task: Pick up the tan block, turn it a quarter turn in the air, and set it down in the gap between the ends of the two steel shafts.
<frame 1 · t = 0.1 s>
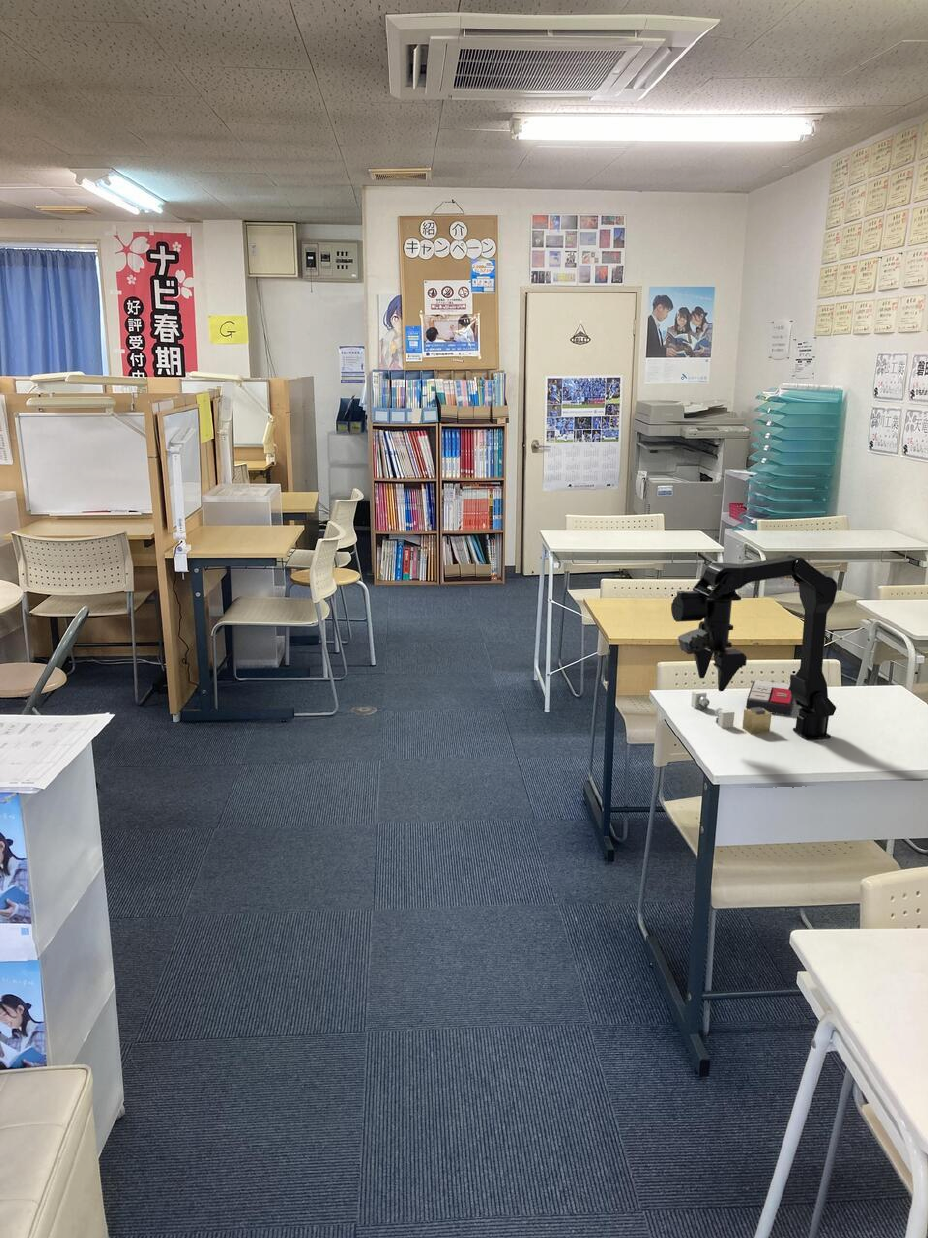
hand: (711, 684, 213), 15 cm above the table, tool pointing down, fingers open, 9 cm apart
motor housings: (711, 716, 234), on the table
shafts: (711, 716, 234), on the table
tan block: (755, 730, 225), on the table
red and grey box: (770, 705, 244), on the table
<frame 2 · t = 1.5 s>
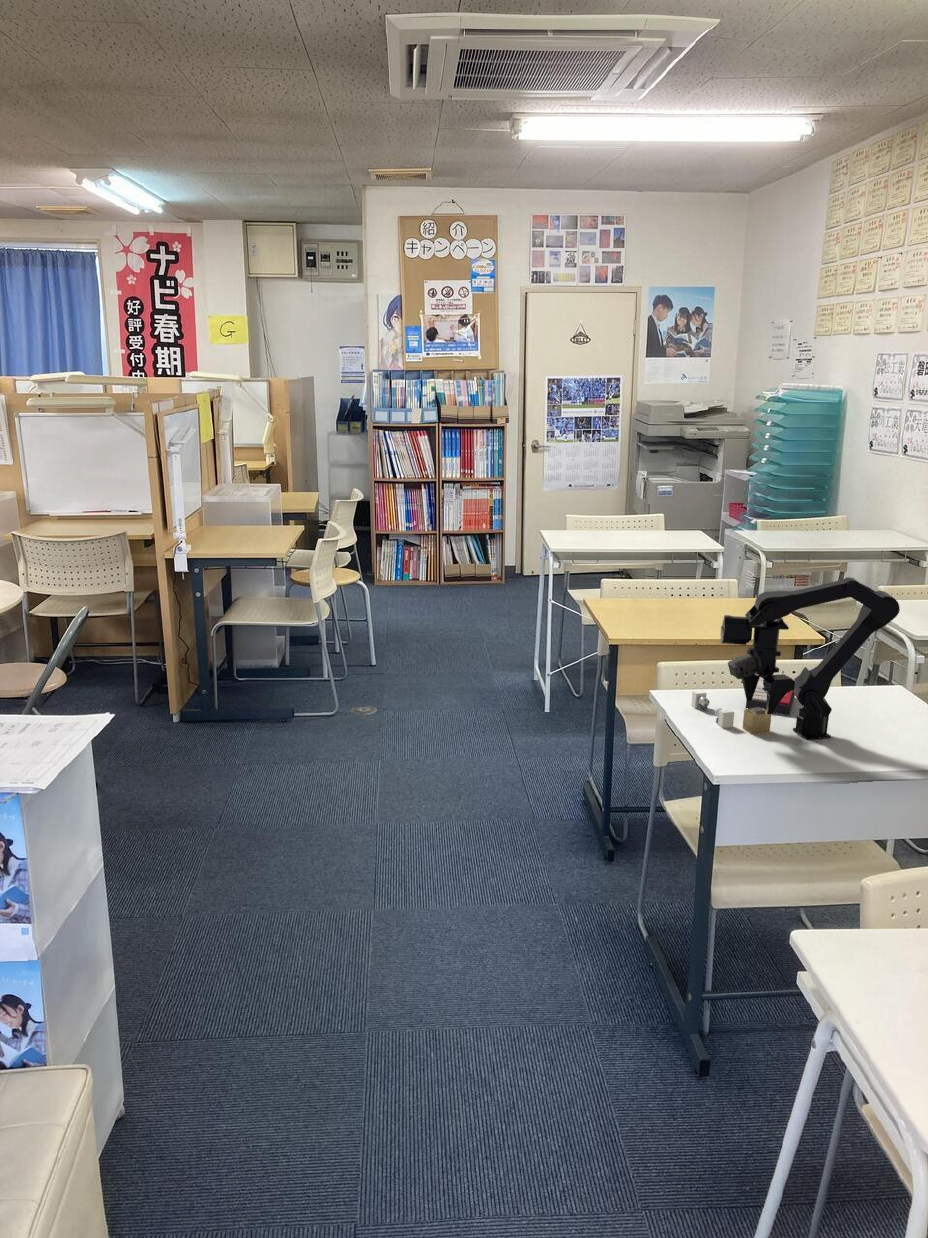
hand: (758, 707, 223), 6 cm above the table, tool pointing down, fingers open, 9 cm apart
nothing on the table moved.
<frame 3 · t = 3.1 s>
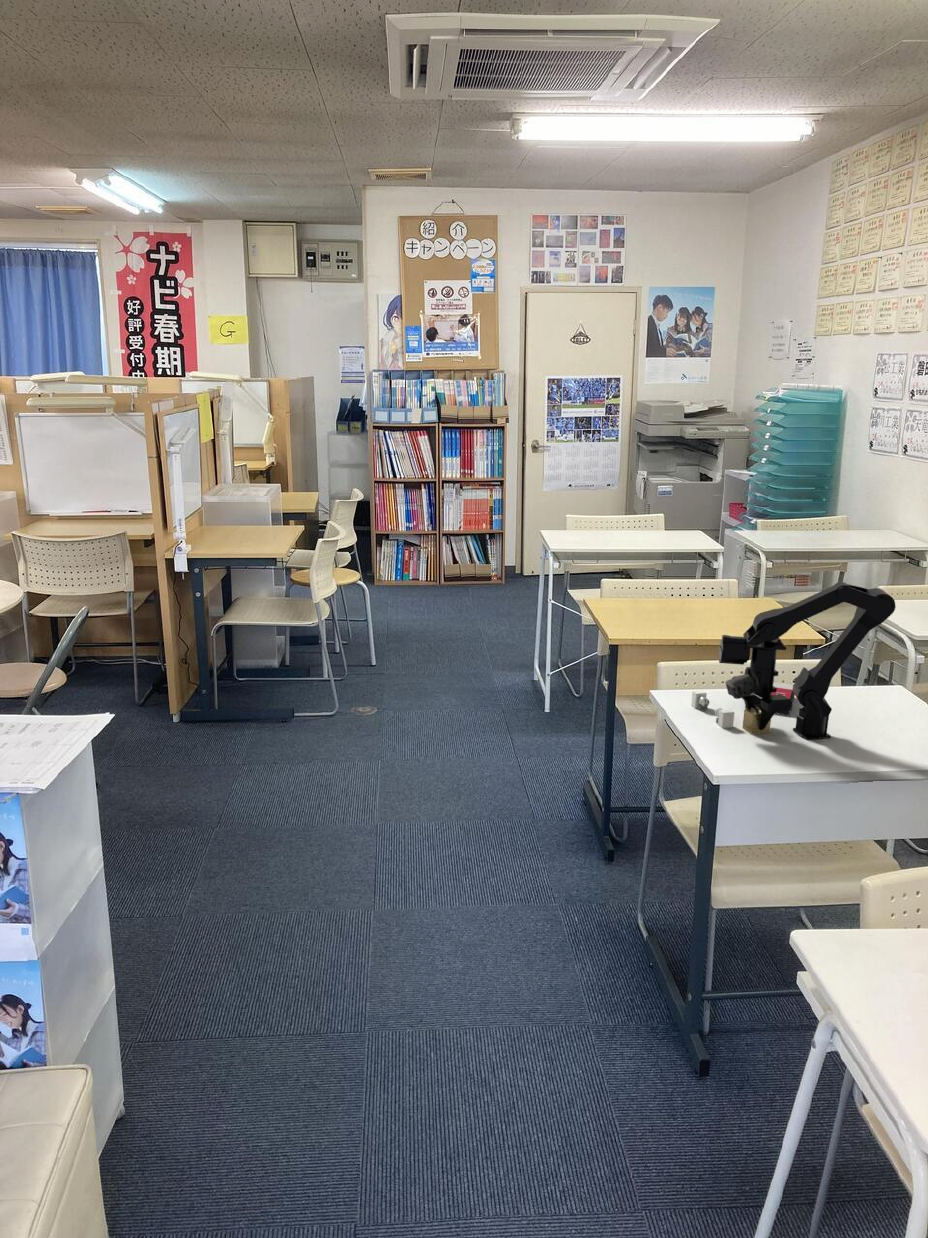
hand: (756, 726, 225), 1 cm above the table, tool pointing down, fingers closed on tan block, 4 cm apart
tan block: (755, 730, 225), on the table, touching gripper
everything else where it was.
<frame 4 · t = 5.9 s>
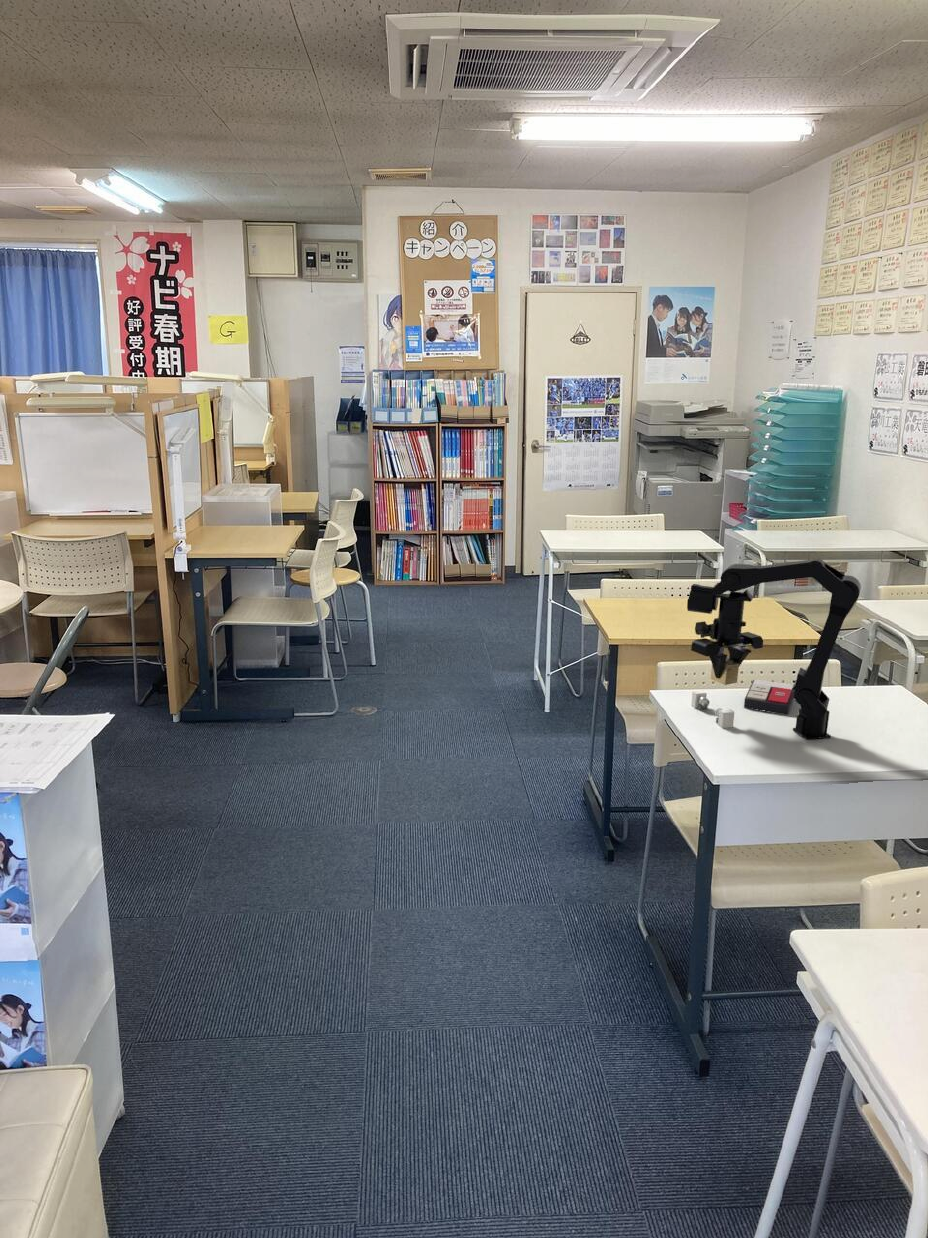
hand: (724, 676, 229), 11 cm above the table, tool pointing down, fingers closed on tan block, 4 cm apart
tan block: (723, 680, 229), point 10 cm above the table, touching gripper
everything else where it was.
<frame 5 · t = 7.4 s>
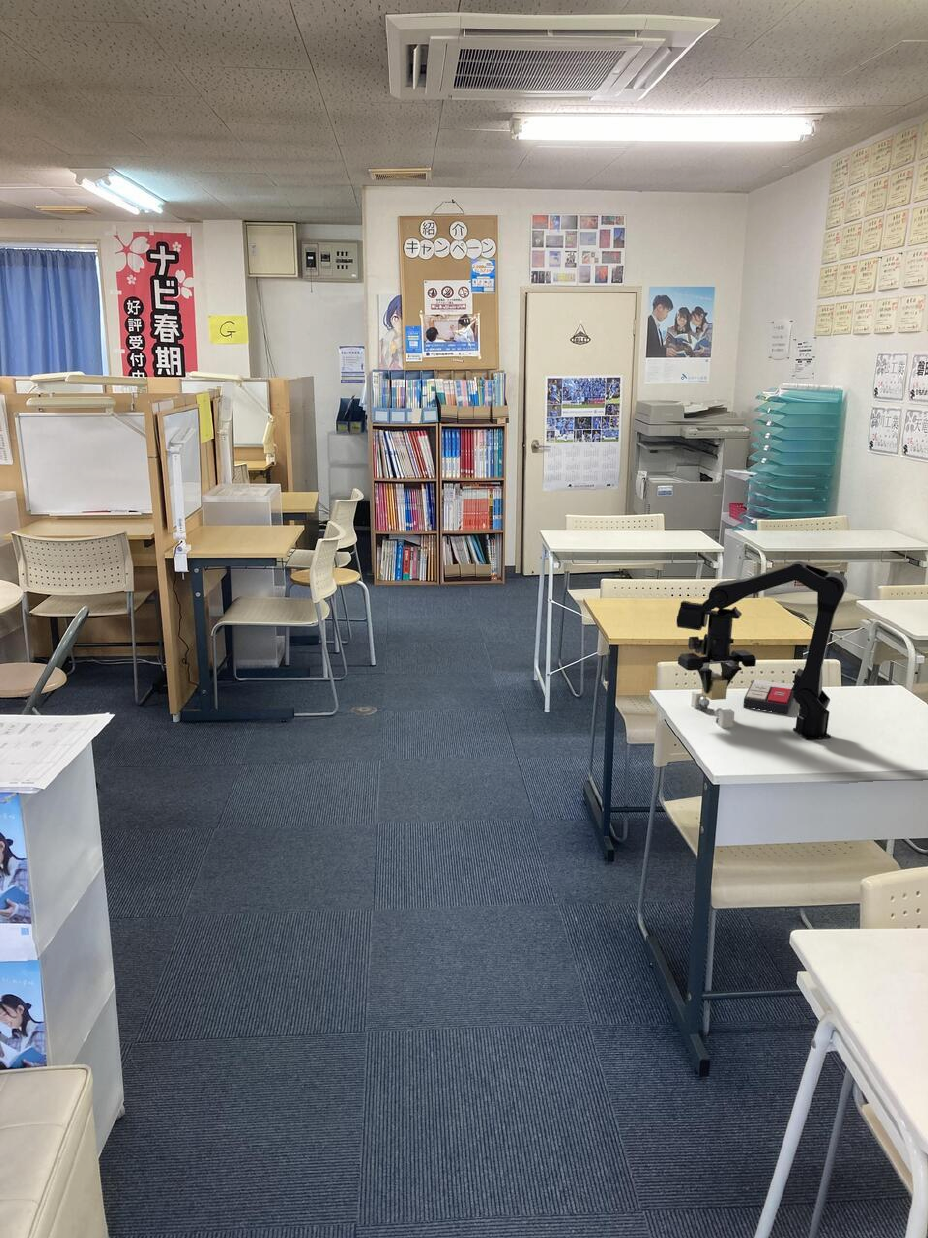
hand: (714, 692, 232), 6 cm above the table, tool pointing down, fingers closed on tan block, 4 cm apart
tan block: (713, 696, 232), point 5 cm above the table, touching gripper
everything else where it was.
when the fingers open (2 cm above the table, at t = 8.8 s): tan block drops 2 cm, on the table.
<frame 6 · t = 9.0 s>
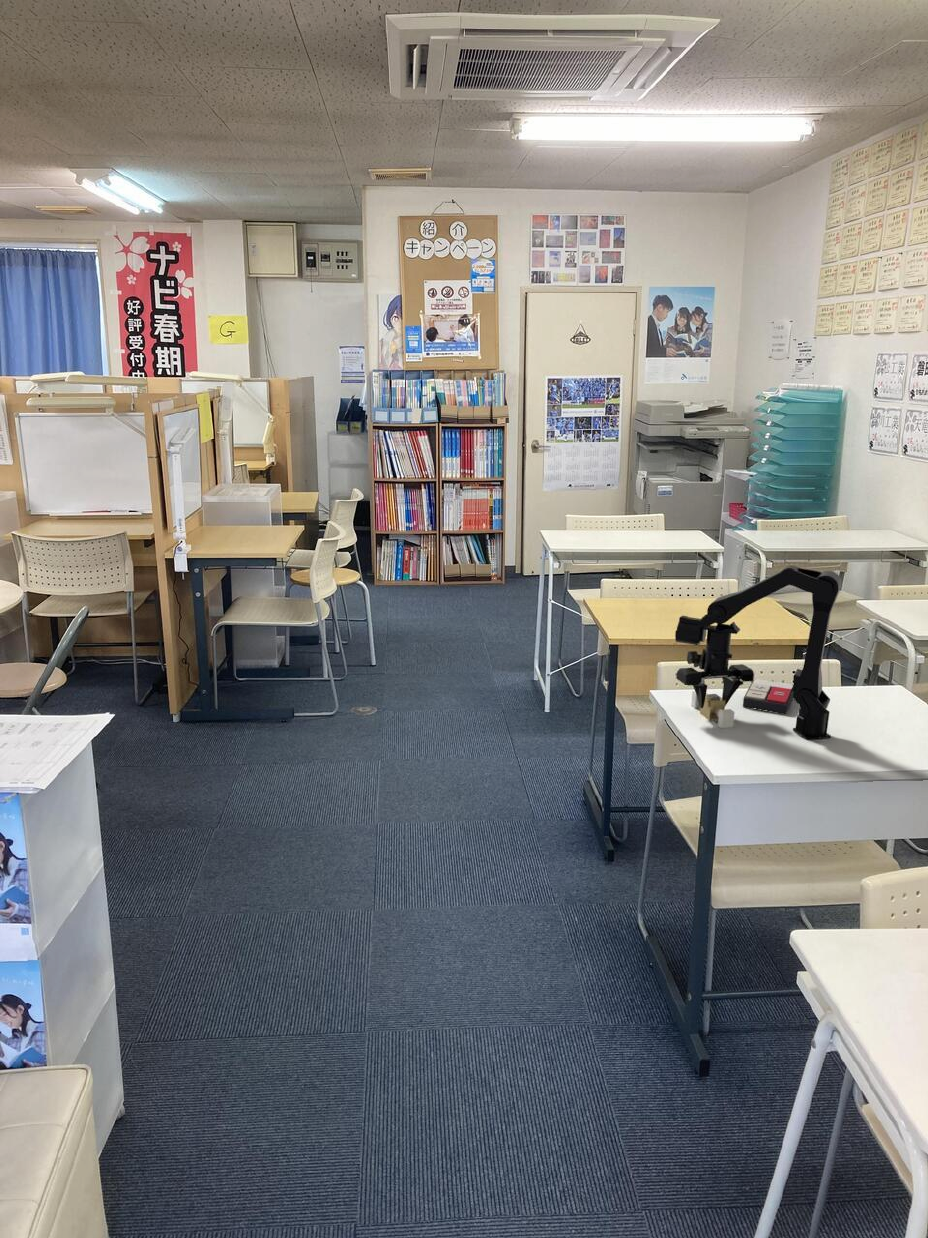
hand: (712, 706, 233), 2 cm above the table, tool pointing down, fingers open, 6 cm apart
tan block: (711, 716, 234), on the table
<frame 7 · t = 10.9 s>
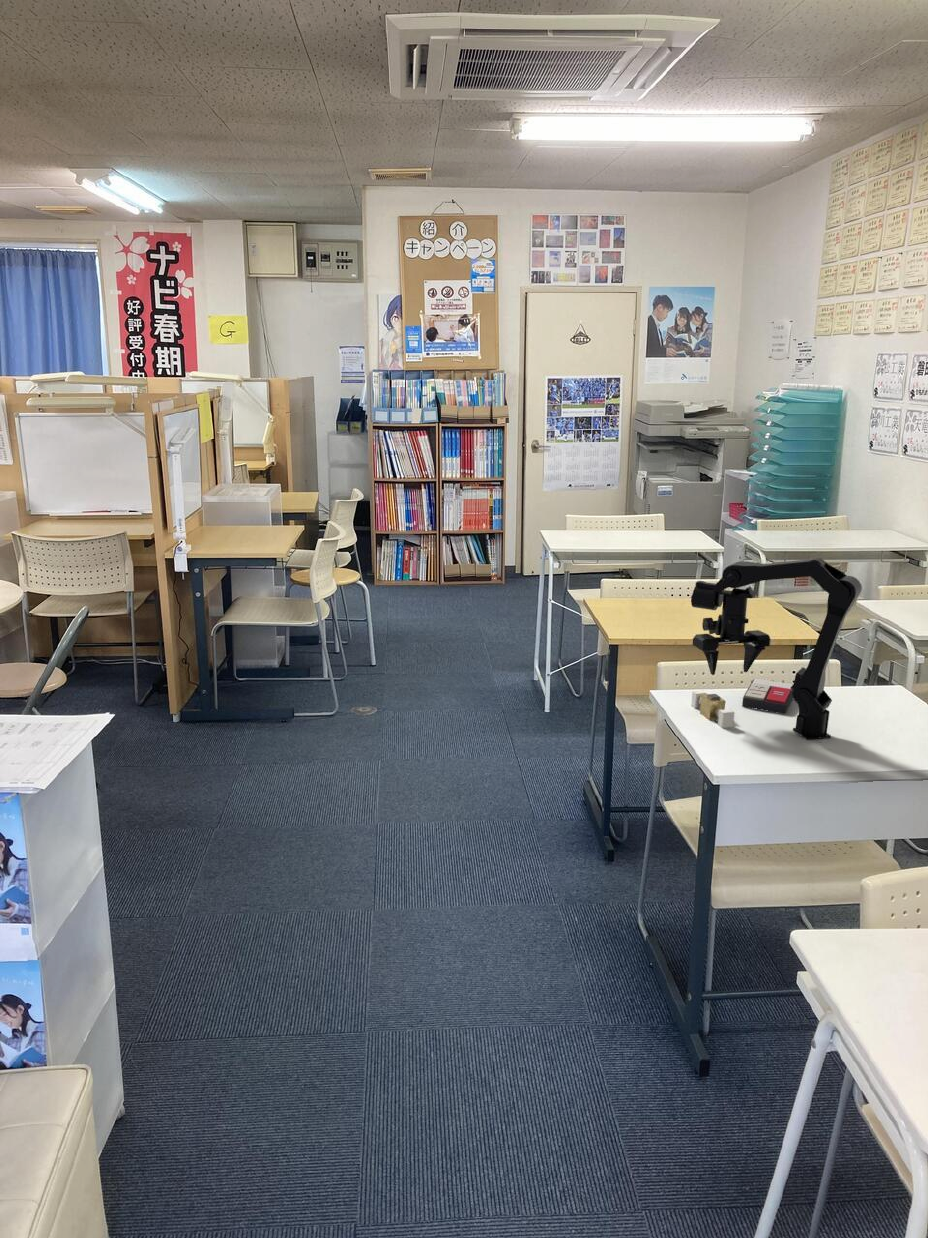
hand: (728, 673, 232), 11 cm above the table, tool pointing down, fingers open, 9 cm apart
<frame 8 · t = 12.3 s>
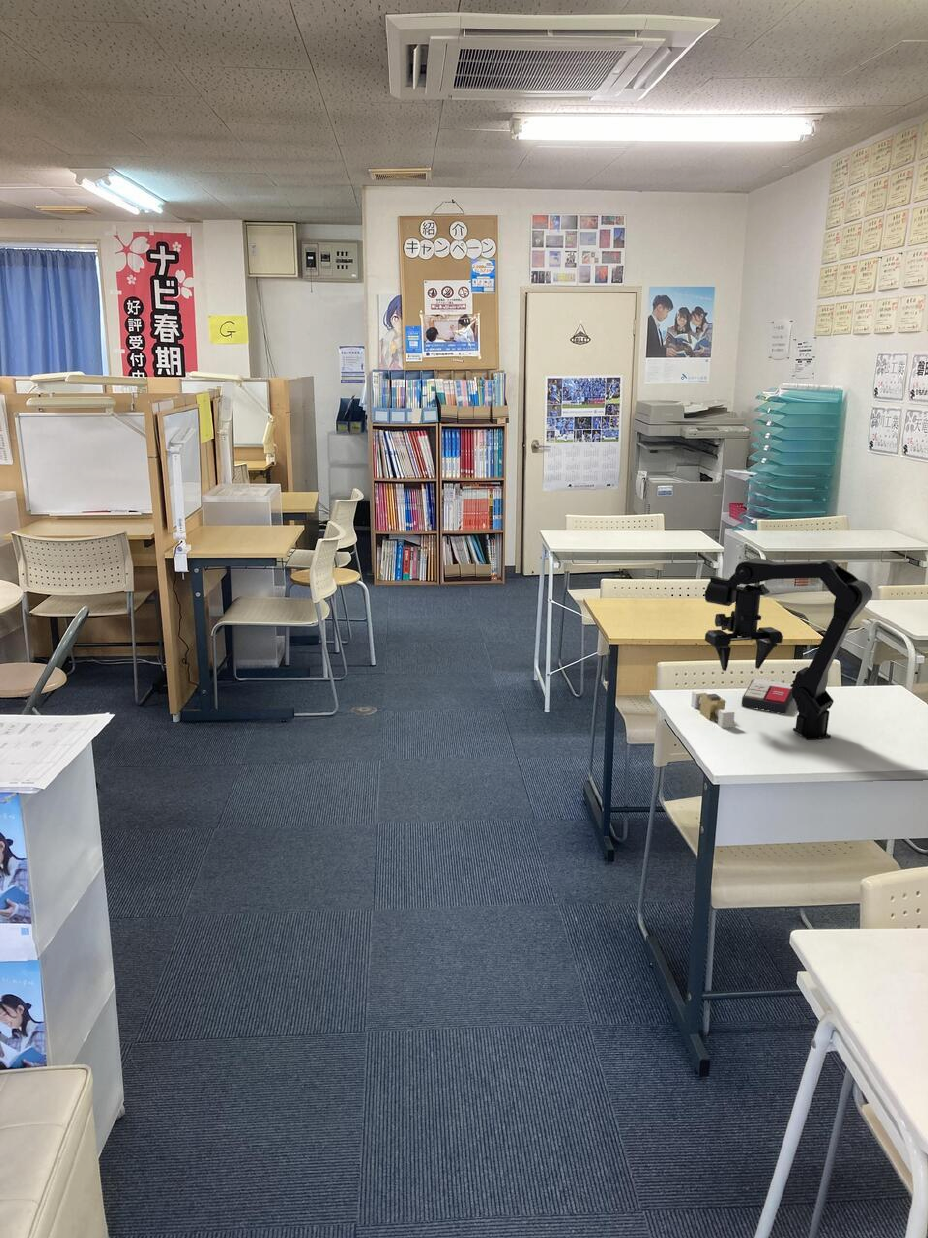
hand: (740, 669, 232), 12 cm above the table, tool pointing down, fingers open, 9 cm apart
at the end: tan block 0.1 cm from the target spot, on the table; tan block tilted 0°; the gripper is holding nothing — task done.
